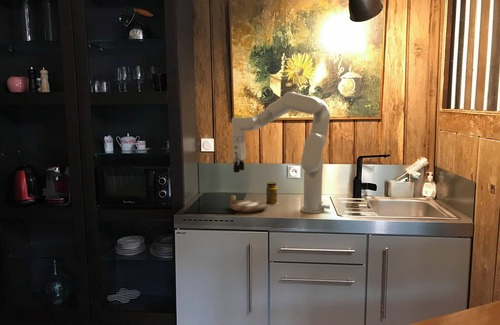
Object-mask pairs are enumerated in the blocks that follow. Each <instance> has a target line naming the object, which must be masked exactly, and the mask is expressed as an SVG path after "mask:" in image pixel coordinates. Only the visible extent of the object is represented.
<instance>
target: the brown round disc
mask: <svg viewBox="0 0 500 325" xmlns="http://www.w3.org/2000/svg"><path fill="white" fill-rule="evenodd" d="M236 199H237V198H236V195H231V196H230V203H229V209H230V210H233V211H236V212H240V211H256V212H258V211H264V210H265V209H267V206H268V205H267V204H266V203H265V202H266V201H263V200H257V199H243V200H242V199H241V200H236Z"/></svg>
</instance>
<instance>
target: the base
mask: <svg viewBox="0 0 500 325" xmlns="http://www.w3.org/2000/svg"><path fill="white" fill-rule="evenodd" d="M239 212H241V213H256V212H257V211H239Z"/></svg>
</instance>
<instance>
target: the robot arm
mask: <svg viewBox="0 0 500 325" xmlns="http://www.w3.org/2000/svg"><path fill="white" fill-rule="evenodd" d="M291 111H297V112H300V113H304V114H308V115H313V119H312V124H311V129H310V134H308V135H307V137H306V138H305V141H304V145H303V150H302V151H303V152H302V154H301V155H302V156H301V161H300V165H301V167H302V169H303V172H304V174H303V175H304V176H303V206H301V207H300V211H301V212H303V213H306V214H321V213H324V212H325V210H326V209H327V210H330V209H331V205H330V204H324V202H323V199H322V197H323V194H322V192H323V167H324V160H323V157H322V155H323V151H324V147H325V146H326V144H327V137H328V132H329V125H330V119H331V115H330V114H331V113H330V109H329V106H328V105H327V104H326V102H325V101H323V100H322V99H321V98H319V97H316V96H308V95H304V94H300V93H297V92H295V91H287V92H286V93H285V92H284V94H283V96H282V97H280V98H278V99H277V100H275V101H273V102H271V103H269V104H268V105H267V107H266V108H265V109H264V110H263V111H261V112H259V113H258V114H256V115H254V116H248V117H244V116H243V117H242V116H233V117H232V118H231V143H232V162H233V164H232V165H233V172H234V173H240V171H245V159H246V157H247V153H246V151H247V150H246V132H247V131H248V132H251V131H257V130H260V129H261V128H263V127H265V126H267V125H269V124H270V123H272V122H273V121H275V120H277V119H279V118H281V117H283V116H284V115H286V114H287V113H289V112H291Z"/></svg>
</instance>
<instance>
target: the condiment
mask: <svg viewBox="0 0 500 325" xmlns="http://www.w3.org/2000/svg"><path fill="white" fill-rule="evenodd" d="M265 192H266V198H265V200H266V201H264V202H265V203H266V204H267V206H272V205H280V202H278V187H277V182H275V181H273V182H267V183H266V191H265Z"/></svg>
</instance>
